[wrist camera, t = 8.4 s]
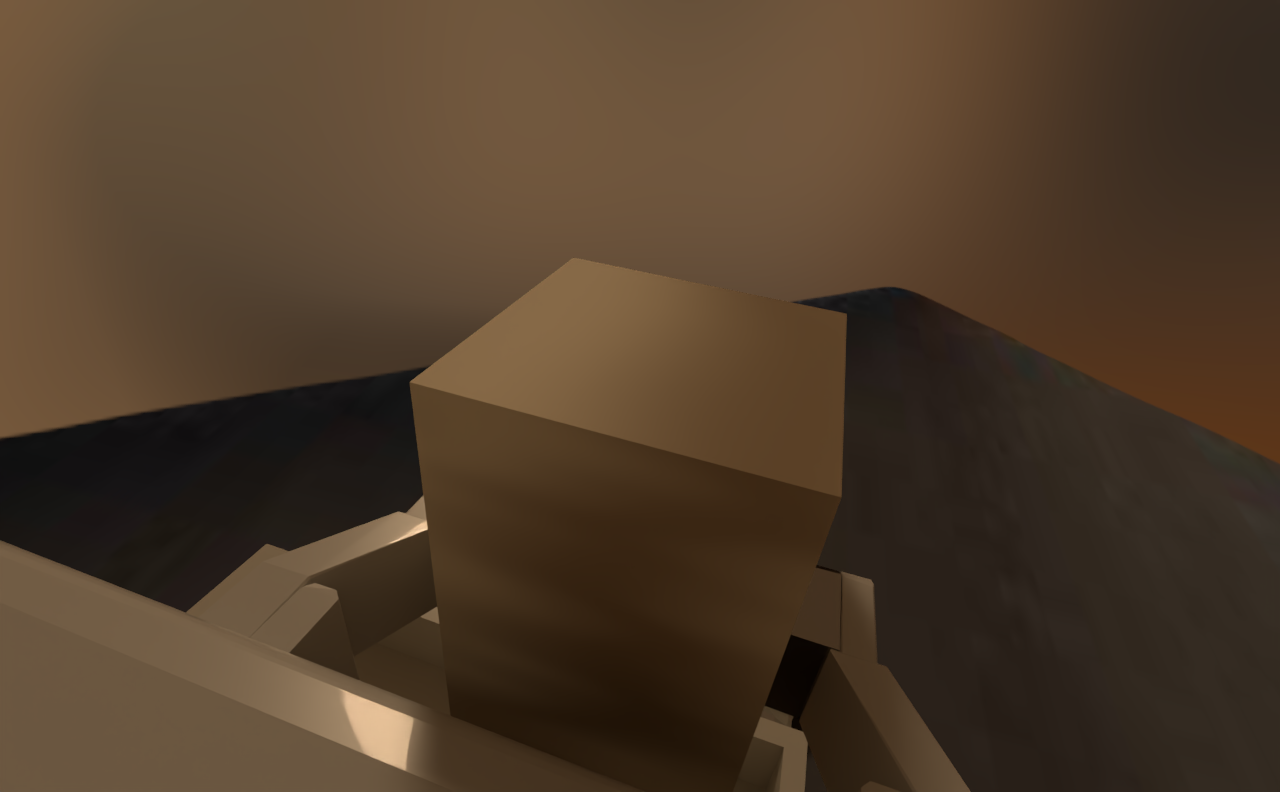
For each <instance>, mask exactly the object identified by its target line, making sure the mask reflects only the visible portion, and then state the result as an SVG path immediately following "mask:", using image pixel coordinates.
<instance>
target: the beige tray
mask: <svg viewBox="0 0 1280 792" xmlns="http://www.w3.org/2000/svg"><path fill="white" fill-rule="evenodd" d="M287 552H289V551H286V550H283V549H280V548H277V547H275V546H272V545H269V544H266V545H265V546H264V547H262V548H261V549H260V550H259V551H258V552H256V553H255V554H254V555H253V556H252V557H251V558H249V559H248V560H247V561H246V562H245V563H244V564H242V565H241V566H240V567H239V568H238V569H237V570H235V571H234V572H233V573H232V574H231V575H229V576H228V577H227V578H226V579H225V580H224V581H222V582H221V583H220V584H219V585H218V586H217V587H215V588H214V589H213V590H212V591H211V592H210V593H208V594H207V595H206V596H205V597H204V598H203V599H201V600H200V601H199V602H198V603H197V604H195V605H194V606H193V607H192V608H191V609H190V610H188V611H187V612H186V613H187V614H190V615H193V616H195V617H199V616H201V615H202V614H203V613H204V612H205V611H206V610H207V609H209V608H210V607H211V606H212V605H213V604H214V603H215V602H217V601H218V600H219V599H220V598H221V597H222V596H224V595H225V594H226V593H227V592H228V591H229V590H230V589H232V588H233V587H234V586H235V585H236V584H237V583H238V582H240V581H241V580H242V579H243V578H244V577H245V576H247V575H248V574H249V573H250V572H251V571H252V570H253V569H255V568H256V567H257V566H258V565H259V564H260V563H261V562H263V561H265V560H268V559H271V558H273V557H276V556H279V555H281V554H284V553H287ZM354 659H355V663H356V667H357V670H358V674H359V678H360V681H362V682H365V683H367V684H370V685H373V686H375V687H378V688H380V689H383V690H385V691H388V692H391V693H393V694H396V695H398V696H401V697H403V698H406V699H409V700H411V701H414V702H416V703H419V704H421V705H424V706H427V707H429V708H432V709H434V710H437V711H439V712H442V713H445V714H447V715H450V707H449V699H448V690H447V682H446V674H445V666H444V658H443V650H442V642H441V633H440V625H439V617H438V609H437V607H436V608H434V609H432V610H431V611H429V612H427V613H426V614H424V615H422V616H421V617H419V618H417V619H416V620H414V621H412V622H411V623H409V624H407V625H406V626H404V627H402V628H401V629H399V630H397V631H396V632H394V633H392V634H391V635H389V636H387V637H386V638H384V639H382V640H381V641H379V642H377V643H376V644H374V645H372V646H371V647H369V648H367V649H366V650H364V651H363V652H361V653H359V654H358V655H356V656H354ZM450 716H451V715H450ZM807 746H808V742H807V740H806V737H805V735H804V732H802V731H799V730H796V729H793V728H791V727H788V726H785V725H782V724H779V723H776V722H774V721H771V720H768V719H765V718H762V717H760V720H759V722H758V725H757V728H756V730H755V733H754V736H753V739H752V741H751V744H750V747H749V749H748V752H747V755H746V758H745V760H744V763H743V766H742V768H741V771H740V774H739V777H738V779H737V782H736V785H735V787H734V790H733V792H804V790H805V775H806V760H807Z"/></svg>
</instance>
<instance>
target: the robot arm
mask: <svg viewBox="0 0 1280 792" xmlns="http://www.w3.org/2000/svg"><path fill="white" fill-rule="evenodd" d="M436 607H437V601H436V593H435V585H434V576H433V568H432V560H431V552H430V544H429V536H428V528H427V519H426V511H425V503H424V495H423V496H422V497H421V498H420V499H419V500H418V501H417V502H416V503H415V504H414V505H413V506H412V507H411V509H410V510H409V511H408V512H407V513H406V514H405V513H402V512H396V513H393V514H391V515H388V516H385V517H382V518H380V519H377V520H374V521H371V522H369V523H366V524H363V525H361V526H358V527H355V528H352V529H350V530H347V531H344V532H341V533H339V534H336V535H333V536H331V537H328V538H325V539H322V540H320V541H317V542H314V543H311V544H309V545H306V546H303V547H301V548H298V549H295V550H292V551H290V552H287V553H284V554H281V555H279V556H276V557H273V558H271V559H268V560H265V561H263V562H261V563H260V564H259V565H258V566H257V567H256V568H255V569H253V570H252V571H251V572H250V573H249V574H248V575H247V576H245V577H244V578H243V579H242V580H241V581H240V582H238V583H237V584H236V585H235V586H234V587H233V588H232V589H230V590H229V591H228V592H227V593H226V594H225V595H224V596H222V597H221V598H220V599H219V600H218V601H217V602H215V603H214V604H213V605H212V606H211V607H210V608H209V609H207V610H206V611H205V612H204V613H203V614H202V615H201V616H199V617H195V616H193V615H190V614H187V613H185V612H182V611H180V610H177V609H175V608H172V607H170V606H167V605H164V604H162V603H159V602H157V601H154V600H152V599H149V598H146V597H144V596H141V595H139V594H136V593H134V592H131V591H128V590H126V589H123V588H121V587H118V586H116V585H113V584H111V583H108V582H105V581H103V580H100V579H98V578H95V577H93V576H90V575H87V574H85V573H82V572H80V571H77V570H75V569H72V568H69V567H67V566H64V565H62V564H59V563H57V562H54V561H52V560H49V559H46V558H44V557H41V556H39V555H36V554H34V553H31V552H28V551H26V550H23V549H21V548H18V547H16V546H13V545H10V544H8V543H5V542H3V541H0V792H646V791H643V790H641V789H638V788H635V787H633V786H630V785H628V784H625V783H623V782H620V781H617V780H615V779H612V778H610V777H607V776H605V775H602V774H599V773H597V772H594V771H592V770H589V769H587V768H584V767H581V766H579V765H576V764H574V763H571V762H569V761H566V760H563V759H561V758H558V757H556V756H553V755H550V754H548V753H545V752H543V751H540V750H538V749H535V748H532V747H530V746H527V745H525V744H522V743H519V742H517V741H514V740H512V739H509V738H507V737H504V736H501V735H499V734H496V733H494V732H491V731H489V730H486V729H483V728H481V727H478V726H476V725H473V724H470V723H468V722H465V721H463V720H460V719H458V718H455V717H452V716H450V715H447V714H445V713H442V712H439V711H437V710H434V709H432V708H429V707H427V706H424V705H421V704H419V703H416V702H414V701H411V700H409V699H406V698H403V697H401V696H398V695H396V694H393V693H391V692H388V691H385V690H383V689H380V688H378V687H375V686H373V685H370V684H367V683H365V682H362V681H360V678H359V674H358V670H357V667H356V663H355V659H354V656H356V655H358V654H359V653H361V652H363V651H364V650H366V649H367V648H369V647H371V646H372V645H374V644H376V643H377V642H379V641H381V640H382V639H384V638H386V637H387V636H389V635H391V634H392V633H394V632H396V631H397V630H399V629H401V628H402V627H404V626H406V625H407V624H409V623H411V622H412V621H414V620H416V619H417V618H419V617H421V616H422V615H424V614H426V613H427V612H429V611H431V610H432V609H434V608H436ZM765 706H767V707H769V708H772V709H775V710H777V711H780V712H783V713H785V714H788V715H791V716H794V717H796V718H799V719H800V720H799V723H800V725H801V728H802V730H803V732H804V735H805V737H806V740H807V742H808V745H809V747H810V750H811V752H812V755H813V757H814V759H815V762H816V764H817V767H818V769H819V772H820V774H821V777H822V779H823V782H824V784H825V786H826V789H827V791H828V792H970V790H969V789H968V787H967V786H966V784H965V783H964V781H963V780H962V778H961V777H960V775H959V774H958V772H957V771H956V769H955V768H954V766H953V765H952V763H951V762H950V760H949V759H948V757H947V756H946V754H945V753H944V751H943V750H942V748H941V747H940V745H939V744H938V742H937V741H936V739H935V738H934V736H933V735H932V733H931V732H930V731H929V729H928V728H927V726H926V725H925V723H924V722H923V720H922V719H921V717H920V716H919V714H918V713H917V711H916V710H915V708H914V707H913V705H912V704H911V702H910V701H909V699H908V698H907V696H906V695H905V693H904V692H903V690H902V689H901V687H900V686H899V684H898V683H897V681H896V680H895V678H894V677H893V675H892V674H891V672H890V671H889V669H888V668H887V667H885V666H883V665H880V664H877V645H876V621H875V598H874V584H873V582H872V581H871V580H870V579H866V578H862V577H859V576H855V575H852V574H848V573H844V572H839V571H837V570H833V569H829V568H826V567H822V566H819V565H816V568H815V570H814V573H813V576H812V579H811V581H810V584H809V587H808V589H807V592H806V595H805V598H804V600H803V603H802V606H801V608H800V611H799V614H798V616H797V619H796V622H795V625H794V627H793V630H792V633H791V635H790V638H789V641H788V644H787V646H786V649H785V652H784V654H783V657H782V660H781V663H780V665H779V668H778V671H777V673H776V676H775V679H774V682H773V684H772V687H771V690H770V692H769V695H768V698H767V701H766V703H765Z"/></svg>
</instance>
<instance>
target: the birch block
mask: <svg viewBox="0 0 1280 792" xmlns="http://www.w3.org/2000/svg"><path fill="white" fill-rule="evenodd" d="M846 320H847V314H844V313H839V312H835V311H830V310H825V309H820V308H815V307H810V306H806V305H801V304H796V303H791V302H786V301H781V300H776V299H771V298H767V297H762V296H757V295H752V294H747V293H743V292H737V291H733V290H728V289H723V288H718V287H713V286H709V285H704V284H699V283H694V282H689V281H684V280H679V279H675V278H670V277H665V276H660V275H655V274H650V273H645V272H641V271H636V270H631V269H626V268H621V267H617V266H611V265H607V264H602V263H597V262H592V261H588V260H582V259H578V258H572V259H571V260H570V261H568V262H567V263H566V264H565V265H563V266H562V267H561V268H559V269H558V270H557V271H555V272H554V273H553V274H551V275H550V276H549V277H547V278H546V279H545V280H544V281H542V282H541V283H540V284H538V285H537V286H536V287H534V288H533V289H532V290H530V291H529V292H528V293H526V294H525V295H524V296H522V297H521V298H520V299H518V300H517V301H516V302H514V303H513V304H512V305H511V306H509V307H508V308H507V309H506V310H504V311H503V312H501V313H500V314H499V315H497V316H496V317H495V318H493V319H492V320H491V321H489V322H488V323H487V324H486V325H484V326H483V327H482V328H480V329H479V330H478V331H476V332H475V333H474V334H472V335H471V336H470V337H468V338H467V339H466V340H464V341H463V342H462V343H461V344H459V345H458V346H457V347H455V348H454V349H453V350H451V351H450V352H449V353H447V354H446V355H445V356H443V357H442V358H441V359H439V360H438V361H437V362H435V363H434V364H433V365H431V366H430V367H429V368H428V369H426V370H425V371H424V372H422V373H421V374H420V375H418V376H417V377H416V378H414V379H413V380H412V381H410V389H411V397H412V405H413V414H414V422H415V430H416V438H417V446H418V454H419V462H420V471H421V479H422V487H423V495H424V503H425V511H426V519H427V528H428V536H429V544H430V552H431V560H432V568H433V576H434V585H435V593H436V601H437V609H438V617H439V625H440V633H441V642H442V650H443V658H444V666H445V674H446V682H447V690H448V699H449V707H450V715H451V716H452V717H455V718H458V719H460V720H463V721H465V722H468V723H470V724H473V725H476V726H478V727H481V728H483V729H486V730H489V731H491V732H494V733H496V734H499V735H501V736H504V737H507V738H509V739H512V740H514V741H517V742H519V743H522V744H525V745H527V746H530V747H532V748H535V749H538V750H540V751H543V752H545V753H548V754H550V755H553V756H556V757H558V758H561V759H563V760H566V761H569V762H571V763H574V764H576V765H579V766H581V767H584V768H587V769H589V770H592V771H594V772H597V773H599V774H602V775H605V776H607V777H610V778H612V779H615V780H617V781H620V782H623V783H625V784H628V785H630V786H633V787H635V788H638V789H641V790H643V791H646V792H733V790H734V787H735V785H736V782H737V779H738V777H739V774H740V771H741V768H742V766H743V763H744V760H745V758H746V755H747V752H748V749H749V747H750V744H751V741H752V739H753V736H754V733H755V730H756V728H757V725H758V722H759V720H760V717H761V714H762V711H763V709H764V706H765V703H766V701H767V698H768V695H769V692H770V690H771V687H772V684H773V682H774V679H775V676H776V673H777V671H778V668H779V665H780V663H781V660H782V657H783V654H784V652H785V649H786V646H787V644H788V641H789V638H790V635H791V633H792V630H793V627H794V625H795V622H796V619H797V616H798V614H799V611H800V608H801V606H802V603H803V600H804V598H805V595H806V592H807V589H808V587H809V584H810V581H811V579H812V576H813V573H814V570H815V568H816V565H817V562H818V560H819V557H820V554H821V551H822V549H823V546H824V543H825V541H826V538H827V535H828V532H829V530H830V527H831V524H832V522H833V519H834V516H835V513H836V511H837V508H838V505H839V503H840V500H841V493H842V458H843V424H844V389H845V355H846Z"/></svg>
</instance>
